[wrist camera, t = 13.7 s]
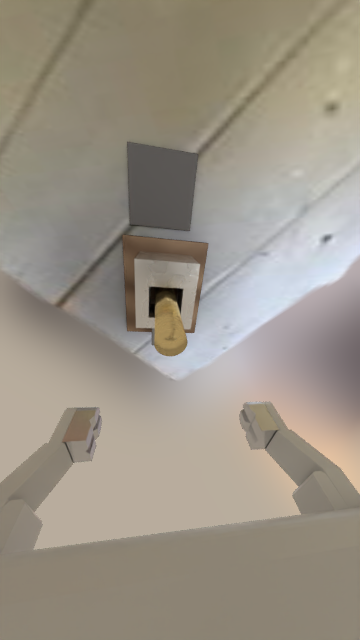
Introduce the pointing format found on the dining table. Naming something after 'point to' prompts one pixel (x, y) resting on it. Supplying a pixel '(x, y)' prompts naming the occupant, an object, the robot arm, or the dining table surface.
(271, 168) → the dining table surface
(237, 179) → the dining table surface
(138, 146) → the rubber mat
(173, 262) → the block
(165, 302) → the brass pin
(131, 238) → the walnut base
